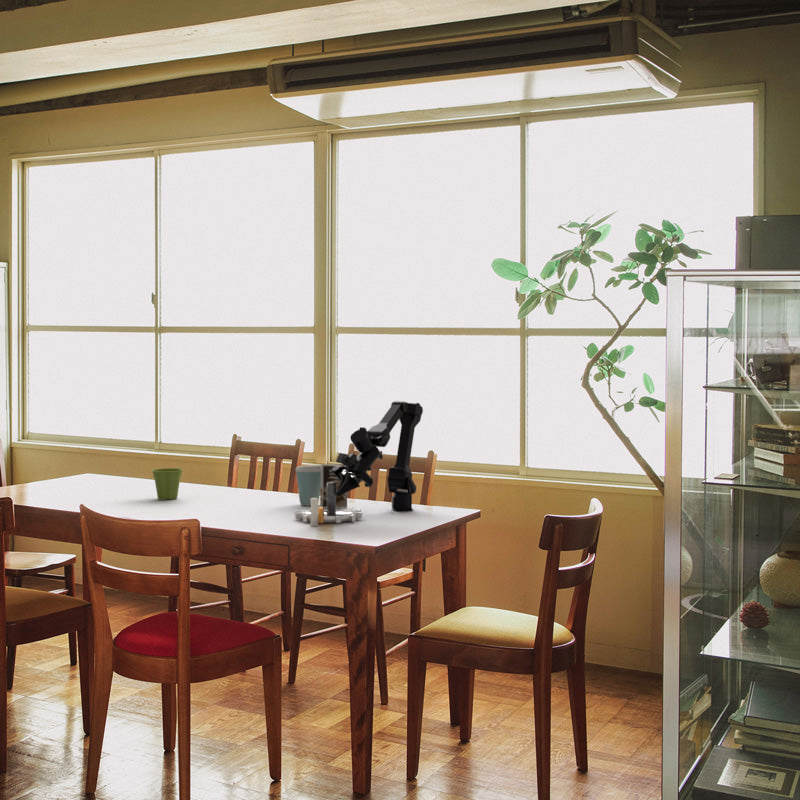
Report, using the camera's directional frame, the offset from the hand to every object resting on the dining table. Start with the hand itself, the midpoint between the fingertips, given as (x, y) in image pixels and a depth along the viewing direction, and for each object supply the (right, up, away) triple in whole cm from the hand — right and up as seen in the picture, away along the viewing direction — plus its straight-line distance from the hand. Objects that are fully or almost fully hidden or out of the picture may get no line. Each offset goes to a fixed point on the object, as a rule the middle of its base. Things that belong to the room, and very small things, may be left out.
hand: (336, 495), depth 325 cm
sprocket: (-3, -9, +8) cm, 12 cm away
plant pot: (-69, -6, +49) cm, 85 cm away
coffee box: (-3, -8, +28) cm, 30 cm away
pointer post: (-7, -9, -5) cm, 13 cm away
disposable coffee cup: (-13, -7, +37) cm, 40 cm away
